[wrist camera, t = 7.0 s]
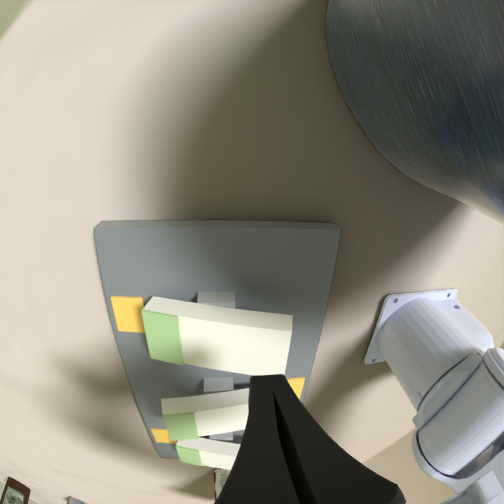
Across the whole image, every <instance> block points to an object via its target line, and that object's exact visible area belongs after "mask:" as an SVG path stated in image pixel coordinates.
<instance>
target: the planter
mask: <svg viewBox="0 0 504 504" xmlns="http://www.w3.org/2000/svg"><path fill="white" fill-rule="evenodd" d="M326 35H327V44H328V50H329V55H330V59H331V63H332V67H333V70H334V73H335V76H336V79H337V82H338V84H339V87H340V89H341V92H342V94H343V96H344V98H345V101H346V102H347V104H348V106H349V108H350V110H351V112H352V114H353V116H354V117H355V119H356V121H357V122H358V124H359V125H360V127H361V128H362V130H363V132H364V133H365V134H366V136H367V137H368V138H369V140H370V141H371V142H372V144H373V145H374V146H375V147H376V148H377V150H378V151H379V152H380V153H381V154H382V155H383V156H384V157H385V158H386V159H387V160H388V161H389V162H390V163H391V164H392V165H393V166H394V167H396V168H397V169H398V170H399V171H400V172H402V173H403V174H405V175H406V176H408V177H409V178H411V179H412V180H414V181H416V182H418V183H420V184H422V185H424V186H426V187H428V188H431V189H433V190H435V191H438V192H440V193H442V194H445V195H447V196H449V197H451V198H453V199H455V200H458V201H460V202H462V203H464V204H466V205H468V206H470V207H472V208H474V209H476V210H477V211H479V212H481V213H483V214H485V215H487V216H489V217H491V218H492V219H494V220H496V221H498V222H500V223H501V224H503V225H504V0H329V2H328V7H327V13H326Z"/></svg>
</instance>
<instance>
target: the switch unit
mask: <svg viewBox="0 0 504 504" xmlns="http://www.w3.org/2000/svg"><path fill="white" fill-rule="evenodd" d="M340 233H341V229H339V228H338V227H337V226H336V225H335V224H334V223H324V222H294V221H251V220H127V221H101V222H100V223H99V224H98V225H97V226H96V227H94V235H95V242H96V249H97V255H98V261H99V267H100V272H101V278H102V283H103V288H104V292H105V297H106V301H107V306H108V310H109V314H110V318H111V322H112V326H113V330H114V334H115V337H116V341H117V345H118V348H119V351H120V355H121V358H122V361H123V364H124V368H125V371H126V374H127V377H128V380H129V383H130V385H131V388H132V391H133V394H134V397H135V399H136V402H137V405H138V407H139V410H140V412H141V415H142V417H143V420H144V422H145V425H146V427H147V429H148V432H149V434H150V436H151V439H152V441H153V443H154V445H155V448H156V450H157V452H158V454H159V456H160V458H169V459H180V458H179V455H178V452H177V449H176V444H177V441H171V440H170V437H169V434H168V431H167V428H166V425H165V422H164V419H163V414H162V404H161V399H167V398H178V397H189V396H198V395H206V394H213V393H221V392H227V391H234V390H240V389H246V388H249V384H250V377H252V376H255V375H248V374H241V373H234V372H228V371H222V370H216V369H210V368H205V367H199V366H194V365H189V364H184V365H179V364H174V363H170V362H165V361H161V360H157V359H153V358H151V357H150V352H149V348H148V343H147V338H146V333H145V328H144V323H143V317H142V312H141V311H142V309H143V308H144V307H145V306H146V304H147V303H148V302H149V301H150V300H151V298H152V297H153V296H156V297H162V298H168V299H174V300H180V301H186V302H193V303H199V304H206V305H213V306H220V307H227V308H235V309H242V310H250V311H259V312H267V313H276V314H285V315H293V322H292V335H291V341H290V347H289V352H288V358H287V364H286V369H285V374H284V375H285V377H286V379H287V381H288V382H289V384H290V386H291V387H292V389H293V391H294V392H295V394H296V395H297V397H298V398H299V400H300V401H301V403H303V399H304V396H305V392H306V389H307V385H308V382H309V378H310V374H311V371H312V367H313V363H314V359H315V355H316V351H317V347H318V343H319V339H320V335H321V331H322V326H323V322H324V318H325V313H326V308H327V304H328V299H329V294H330V289H331V284H332V279H333V274H334V268H335V263H336V257H337V252H338V246H339V240H340ZM244 431H245V429H244V430H239V431H233V432H227V433H221V434H214V435H207V436H199V437H200V438H205V439H210V440H216V441H222V442H228V443H234V444H241V442H242V438H243V435H244Z"/></svg>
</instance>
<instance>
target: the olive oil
mask: <svg viewBox="0 0 504 504" xmlns="http://www.w3.org/2000/svg"><path fill="white" fill-rule="evenodd" d="M29 495H30V489H29V488H27V487H26V486H25V485H23V484H21V483H20V482H18V481H16V480H14V479H12V478H10V477H8V479H7V482H6V485H5V488H4V491H3V494H2V497H1V500H0V504H28V500H29Z"/></svg>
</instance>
